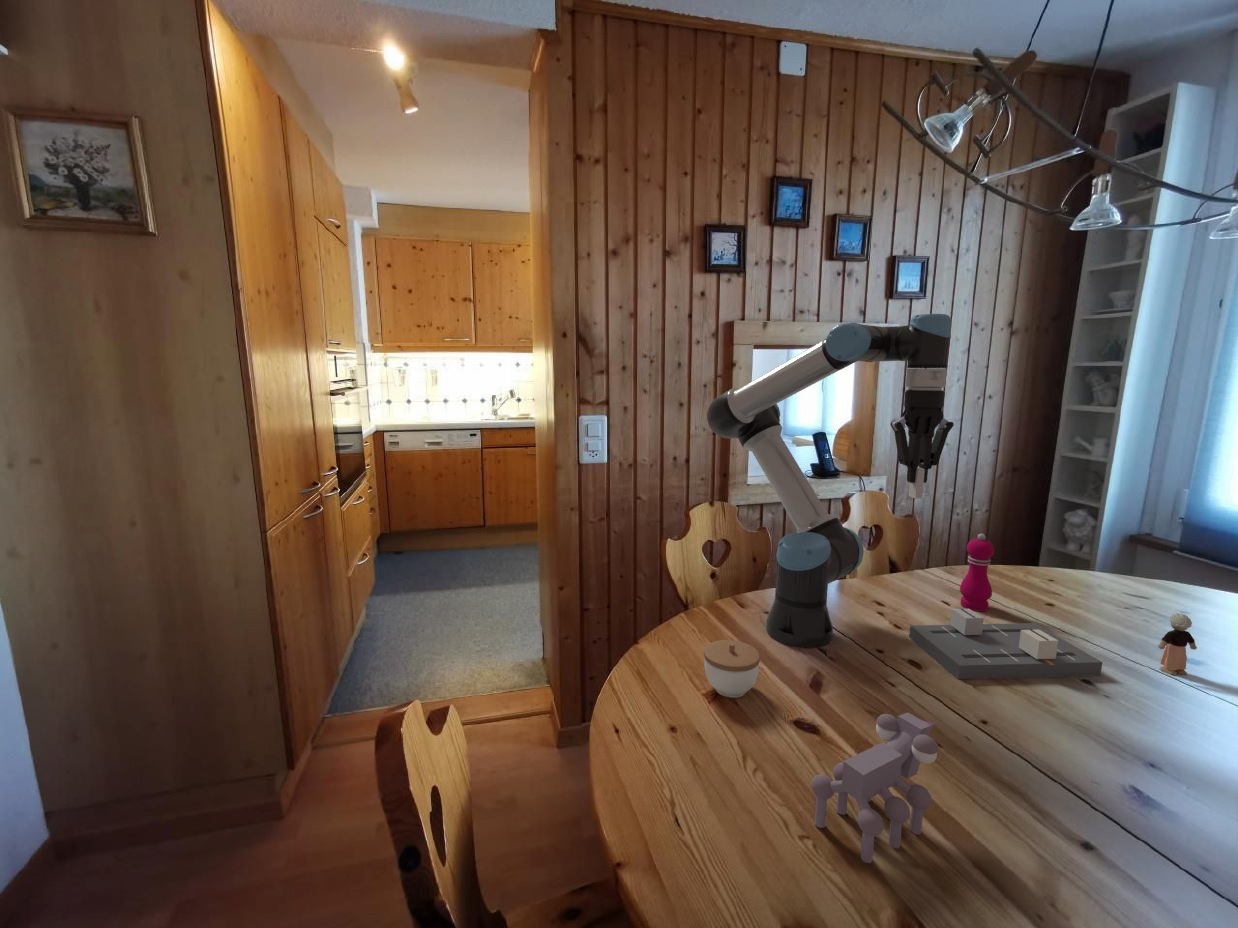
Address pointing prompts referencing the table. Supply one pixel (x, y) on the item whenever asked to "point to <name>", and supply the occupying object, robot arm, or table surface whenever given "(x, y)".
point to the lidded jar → (731, 667)
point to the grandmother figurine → (1176, 645)
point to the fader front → (1038, 644)
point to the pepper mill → (977, 575)
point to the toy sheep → (882, 780)
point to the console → (999, 653)
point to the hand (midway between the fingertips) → (915, 497)
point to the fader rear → (967, 621)
